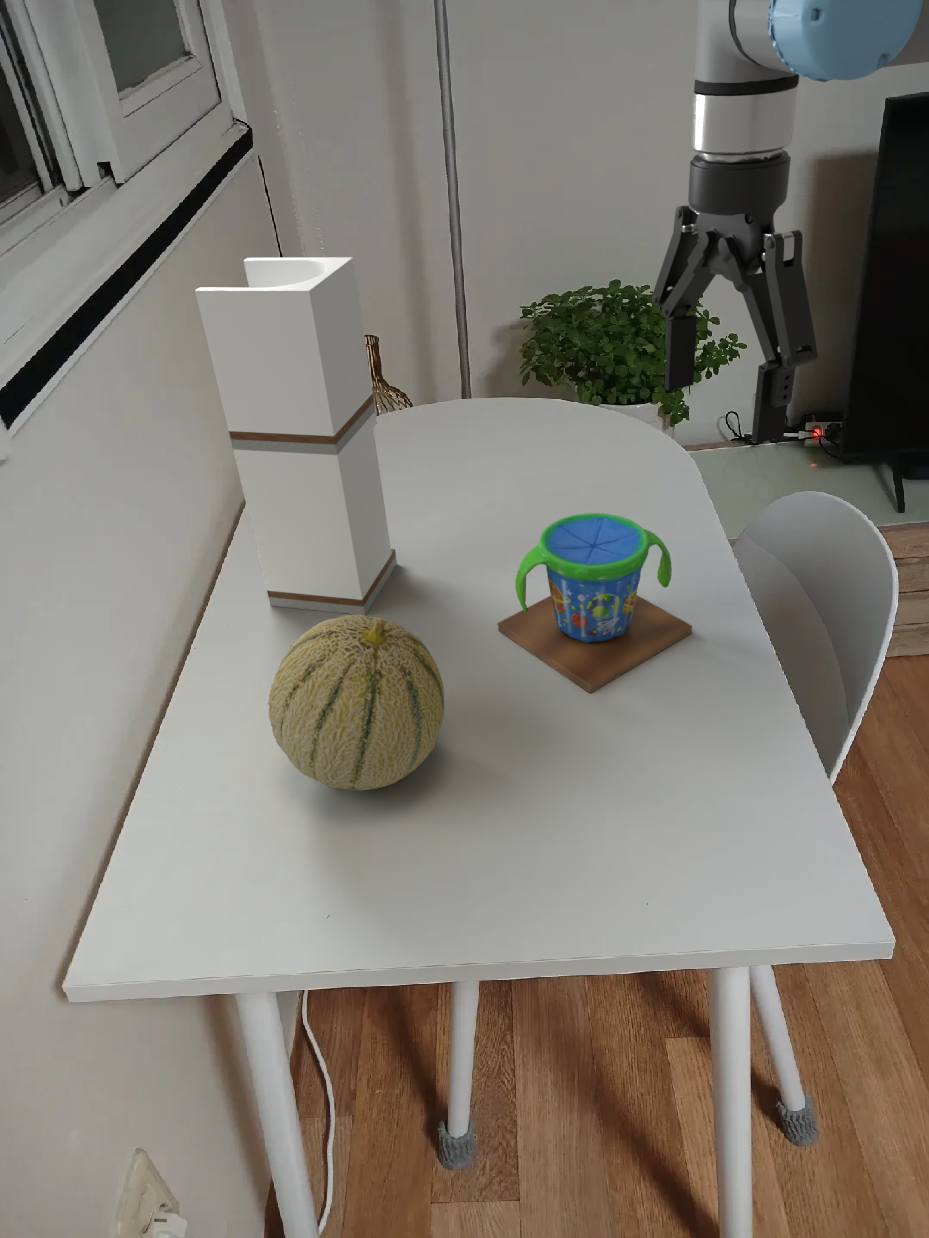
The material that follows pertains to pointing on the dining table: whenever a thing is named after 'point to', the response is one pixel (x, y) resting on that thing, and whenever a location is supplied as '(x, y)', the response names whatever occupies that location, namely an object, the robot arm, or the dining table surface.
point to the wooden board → (599, 658)
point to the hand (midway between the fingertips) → (720, 411)
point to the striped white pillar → (303, 429)
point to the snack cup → (593, 572)
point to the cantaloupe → (357, 702)
